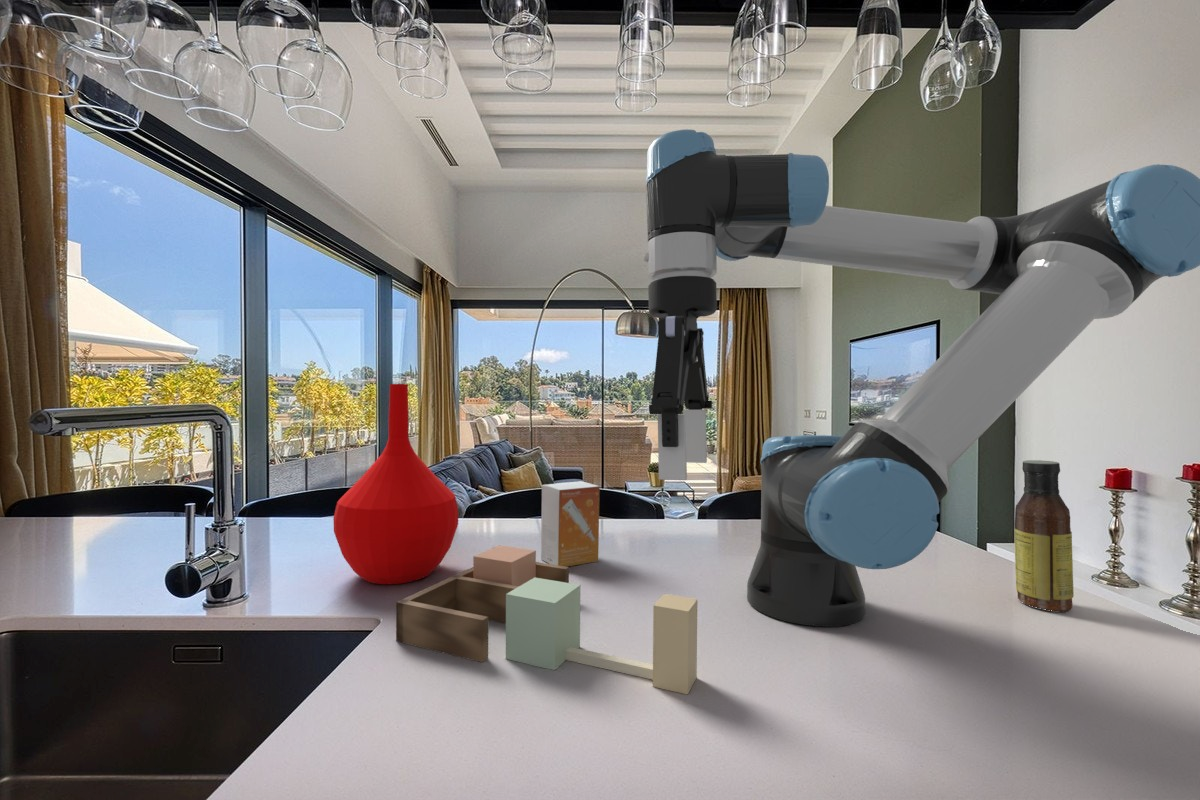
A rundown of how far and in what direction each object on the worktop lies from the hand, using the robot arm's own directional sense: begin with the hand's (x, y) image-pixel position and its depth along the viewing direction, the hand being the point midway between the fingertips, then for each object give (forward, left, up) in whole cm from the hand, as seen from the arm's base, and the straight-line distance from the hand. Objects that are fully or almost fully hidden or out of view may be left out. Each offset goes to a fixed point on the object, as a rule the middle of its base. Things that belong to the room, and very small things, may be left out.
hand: (685, 470), depth 63 cm
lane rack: (+25, +2, -20) cm, 32 cm away
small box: (+27, -24, -20) cm, 41 cm away
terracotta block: (+26, -3, -20) cm, 33 cm away
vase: (+48, -6, -20) cm, 52 cm away
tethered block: (+7, +7, -20) cm, 23 cm away
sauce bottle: (-41, -34, -20) cm, 57 cm away
